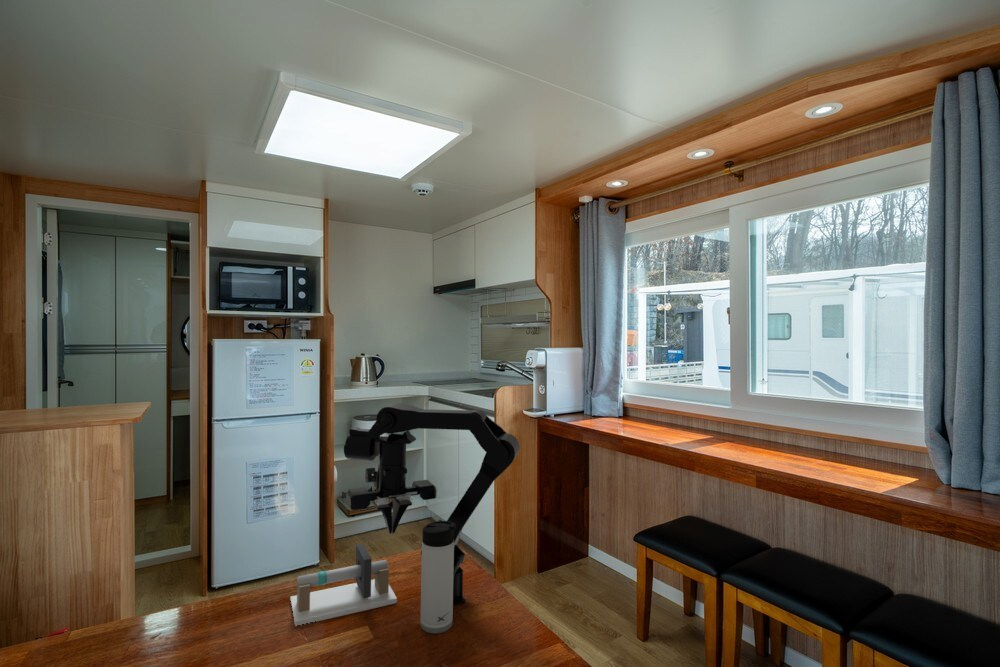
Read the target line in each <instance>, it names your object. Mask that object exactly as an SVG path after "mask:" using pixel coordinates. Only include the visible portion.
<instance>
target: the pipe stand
mask: <svg viewBox="0 0 1000 667" xmlns="http://www.w3.org/2000/svg"><path fill="white" fill-rule="evenodd" d="M361 572H362V566H361V564H360V565H356V564H355V565H351V566H345V567H339V568H334V569H331V570H330V569H329V570H321V571H317V572H315V573H309V574H304V575H299V576H297V580H296V583H297V584H296V585H297V586H296V587H297V588H296V590H297V591H296V594H295V595H291V596H290V598H289V601H291V602H290V606H292V607H291V611H293V613H292V616H293V617H294V618H293V623H294V627H298V626H297V625H300V626H303V625H302V624H304V625H307V624H306V623H308V624H311V623H310V622H313V623H316V622H320V621H325V620H328V619H334V618H339V617H342V616H346V615H347V616H348V615H351V614H354V613H360V612H364V611H369V610H373V609H376V608H381V607H386V606H390V605H394V604H397V603H398V598H397V596H396V594H395V592H394V591H393V589H392V587H391V585H390V583H389V582H390V581H389V579H390V578H389V577H390V569H389V564H388V559H381V560H377V561H371V576H372V575H374V579H371V597H368V598H363V596H362V594H361V592H360V589H359V587H358V585H357V583H356V582H353V583H350V584H345V585H340V586H335V587H330V588H326V589H325V588H324V589H321V590H320V589H319V590H316V591H311V588H312V587H317V586H325V585H327V584H331V583H332V584H333V583H337V582H341V581H348V580H352V579H356V578H357V577H361ZM315 621H316V622H315Z"/></svg>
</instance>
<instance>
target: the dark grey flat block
mask: <svg viewBox="0 0 1000 667" xmlns="http://www.w3.org/2000/svg"><path fill="white" fill-rule="evenodd" d="M371 562H372V557H371V555H370V553H369V552H368V550H367V548H366V546H365V545H364V543H359V544H358V543H357V544H356V545H355V565H360V564H361V566H362V572H361V577H357V578H355V583H357V585H358V587H359V589H360V592H361V594H362V596H363V598H368V597H371V580H372V575H371Z"/></svg>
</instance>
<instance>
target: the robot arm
mask: <svg viewBox="0 0 1000 667" xmlns="http://www.w3.org/2000/svg"><path fill="white" fill-rule="evenodd" d="M375 419H376V420H375V422H374V423H373V425H372V426H371V427H370V429H367V428H361V427H353V428H349V430H348V435H347V437H346V439H345V443H344V445H343V453H344V457H345V458H346V459H348V460H359V461H371V462H372V461H374V460H375V459H376V457H379V460H378V462H379V464H378V467H377V470H376V468H375V467H368V468H367V467H366V468H365V471H364V472H365V474H364V475H365V477H364V478H365V479H364V480H365V483H366V484H369V483H370V484H371V483H373V487H375V488H376V489H378V490H374V491H373V490H372V491H368V489H367V488H366V487H364V486H363V487H359V488H358V487H356V488H349V489H348V491H347V492H346V493H345V496H346V497H345V503H346V504H347V506H348V508H349V509H350V510H351V511H356V510H363V509H368V507H369V506H370V505H371V502H372V505H373V506H374V507H375V508H376V509H377V510H378V511H381V514H382V516H383V517H382V518H383V520H384V523H385V526H386V530H387V532H388V534H389V535H390V534H395V533H396V531H397V529H398V526H399V524H400V521H401V519H402V518H403V515H404V514H405V512H406V511H407V509H408V508H409V507H410V506H412V505H413V502H412V501H411V496H418V495H419V497H420V498H421V499H422V500H423V501H428V500H435V499H436V498H437V492H438V491H437V487H436V486H435V485H434V484H433V483H432V482H431V481H430V480H428V479H422V480H413V482H412V483H411V486H406V481H407V480H406V479H407V478H406V476H407V475H406V474H408V468H407V445H410V444H412V443H414V442H415V441H417V438H416V436H415V435H413V434H411V431H412V430H417V429H418V430H419V429H420V430H421V429H424V430H425V429H426V430H427V429H428V430H452V431H453V430H456V431H457V430H458V431H459V430H461V431H469V432H470V433H471V434H472V435H473V436H474V438H475V440H476V441H477V444H478V445H479V446H480V447H481V448H482V450H484V452H485V455H484V456H483V459H482V463H481V465H480V469H479V471H478V473H477V474H476V476H475V477H474V479H473V481H472V482H471V484H470V485H469V486H468V487H467V489H466V491H465V492H464V494H463V496H462V497H461V498H460V500H459V502H458V504H457V505H456V506H455V508H454V509H453V511H452V512H451V514H450V516H449V517H448V518H447V520H446V521H450V522H452V523H455V524H456V529H455V530H454V571H453V606H456V605H457V606H458V605H462V604H465V603H466V602H467V600H466V598H465V597H464V596H463V593H464V591H463V590H464V587H463V586H464V570H463V569H462V567H461V565H462V564H463V562H464V560H465V557H466V553H465V551H463V549H462V548H460V546H458V542H459V539H460V538H461V534H462V530H463V528H464V526H465V525H466V524H467V522H468V521H469V519H470V517H471V516H472V515H473V513H474V511H475V510H476V508H478V506H479V504H480V502H481V501H482V499H483V498H484V496H485V495H486V494H487V492H488V491H489V489H490V487H491V486H492V485H493V483H494V481H495V480H497V478H498V477H499V476H501V475H502V474H503V473H504V472H505V470H507V469H508V467H509V466H510V465H512V463H513V462H514V461H515V459H516V458H517V456H518V454H519V453H520V450H521V447H520V446H521V445H520V442H519V439H518V438H517V437H516V436H515V435H513V434H511V433H507V431H505V429H503V428H502V427H501V425H499V424H497V423H496V422H495V421H493V420H492V419H491V418H490V417H489V416H488V415H487V414H486V413H485V412H484V411H483V410H482V409H474V410H469V409H467V410H461V409H459V410H457V409H425V408H420V407H417V406H414V405H412V404H411V405H410V404H406V403H402V402H397V403H396V402H395V403H392V404H390V405H387V406H384V407H381V409H380V410H379V411H378V412H377V415H376V418H375ZM402 432H403V433H402ZM384 434H388V436H382V435H384ZM390 499H391V500H392V505H391V504H390ZM438 521H442V520H441V518H440V519H438ZM420 546H422V543H421V544H420ZM420 556H421V558H422V549H421V550H420Z"/></svg>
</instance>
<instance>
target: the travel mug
mask: <svg viewBox="0 0 1000 667" xmlns="http://www.w3.org/2000/svg"><path fill="white" fill-rule="evenodd" d="M455 529H456V524H455V523H452V522H450V521H447V520H441V521H439V520H438V521H433V522H429V523H427V524H426V526H424V527H423V528H422V540H421V544H422V545H421V550H422V557H421V572H420V573H421V576H420V578H421V579H420V582H421V583H420V584H421V585H420V621H419V622H420V623H419V625H420V628H421V629H422V630H423V632H426V633H429V634H442V633H445V632H447V631H448V630H450V628H451V627H452V626H453V618H454V617H453V610H454V609H453V608H454V605H453V571H454V530H455Z"/></svg>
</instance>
